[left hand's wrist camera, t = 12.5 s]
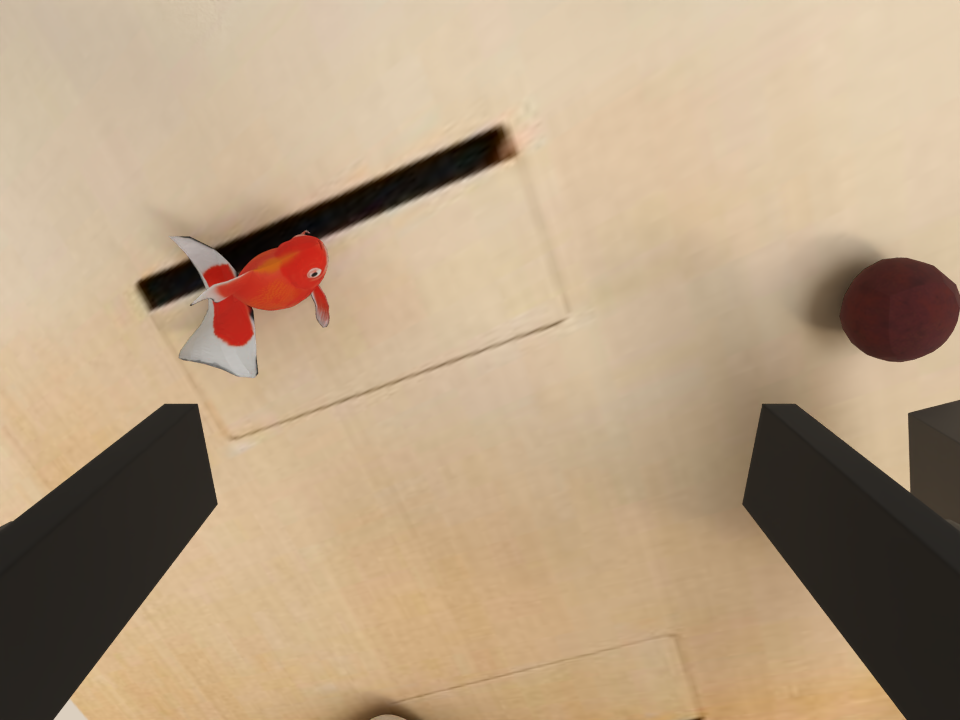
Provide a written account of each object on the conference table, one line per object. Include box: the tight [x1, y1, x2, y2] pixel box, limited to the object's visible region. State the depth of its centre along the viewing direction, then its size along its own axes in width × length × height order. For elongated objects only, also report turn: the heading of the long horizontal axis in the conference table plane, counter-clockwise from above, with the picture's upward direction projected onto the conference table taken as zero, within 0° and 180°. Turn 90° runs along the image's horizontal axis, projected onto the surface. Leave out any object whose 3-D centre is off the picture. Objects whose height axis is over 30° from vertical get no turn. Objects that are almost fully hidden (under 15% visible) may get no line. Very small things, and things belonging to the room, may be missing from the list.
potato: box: [840, 258, 960, 362], centre depth 41 cm, size 7×8×7 cm
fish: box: [168, 231, 329, 378], centre depth 40 cm, size 11×16×10 cm
